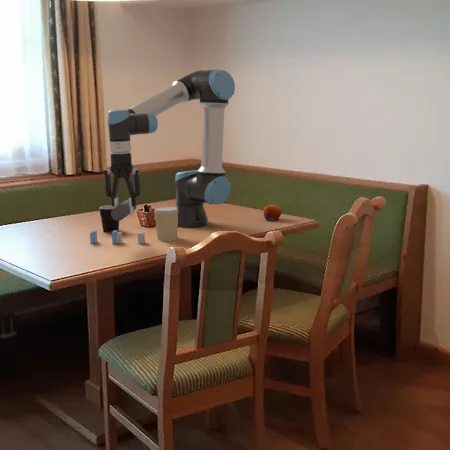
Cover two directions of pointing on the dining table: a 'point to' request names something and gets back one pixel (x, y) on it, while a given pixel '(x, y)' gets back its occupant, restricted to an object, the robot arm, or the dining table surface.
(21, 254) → the dining table surface
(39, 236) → the dining table surface
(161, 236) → the coffee cup
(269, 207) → the fruit
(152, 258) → the dining table surface
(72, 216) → the dining table surface
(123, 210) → the dark gray cylinder
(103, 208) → the coffee mug
